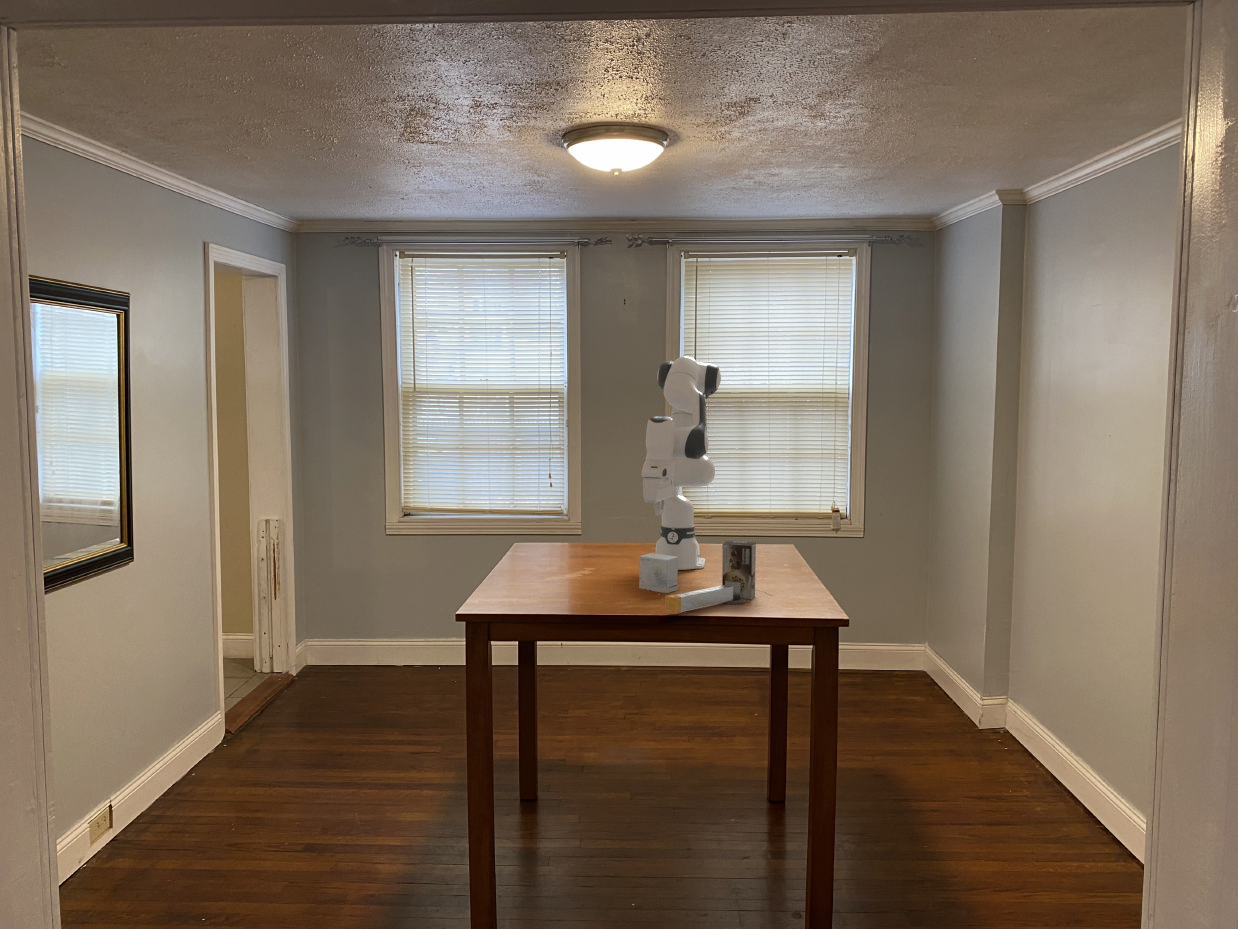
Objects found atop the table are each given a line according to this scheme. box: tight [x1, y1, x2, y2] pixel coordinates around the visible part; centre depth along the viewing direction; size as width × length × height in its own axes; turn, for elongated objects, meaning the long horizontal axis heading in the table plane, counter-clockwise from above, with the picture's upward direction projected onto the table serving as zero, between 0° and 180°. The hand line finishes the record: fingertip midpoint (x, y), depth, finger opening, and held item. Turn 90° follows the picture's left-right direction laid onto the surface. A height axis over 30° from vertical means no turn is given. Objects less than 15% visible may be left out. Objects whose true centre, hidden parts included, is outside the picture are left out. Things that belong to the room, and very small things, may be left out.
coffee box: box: [721, 540, 757, 600], centre depth 264 cm, size 9×6×16 cm
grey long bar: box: [664, 580, 741, 615], centre depth 249 cm, size 28×4×5 cm, turn 132°
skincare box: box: [638, 552, 679, 594], centre depth 272 cm, size 10×6×10 cm, turn 53°
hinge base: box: [722, 597, 746, 606], centre depth 257 cm, size 7×7×1 cm
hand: (659, 514), depth 271 cm, fingers closed
